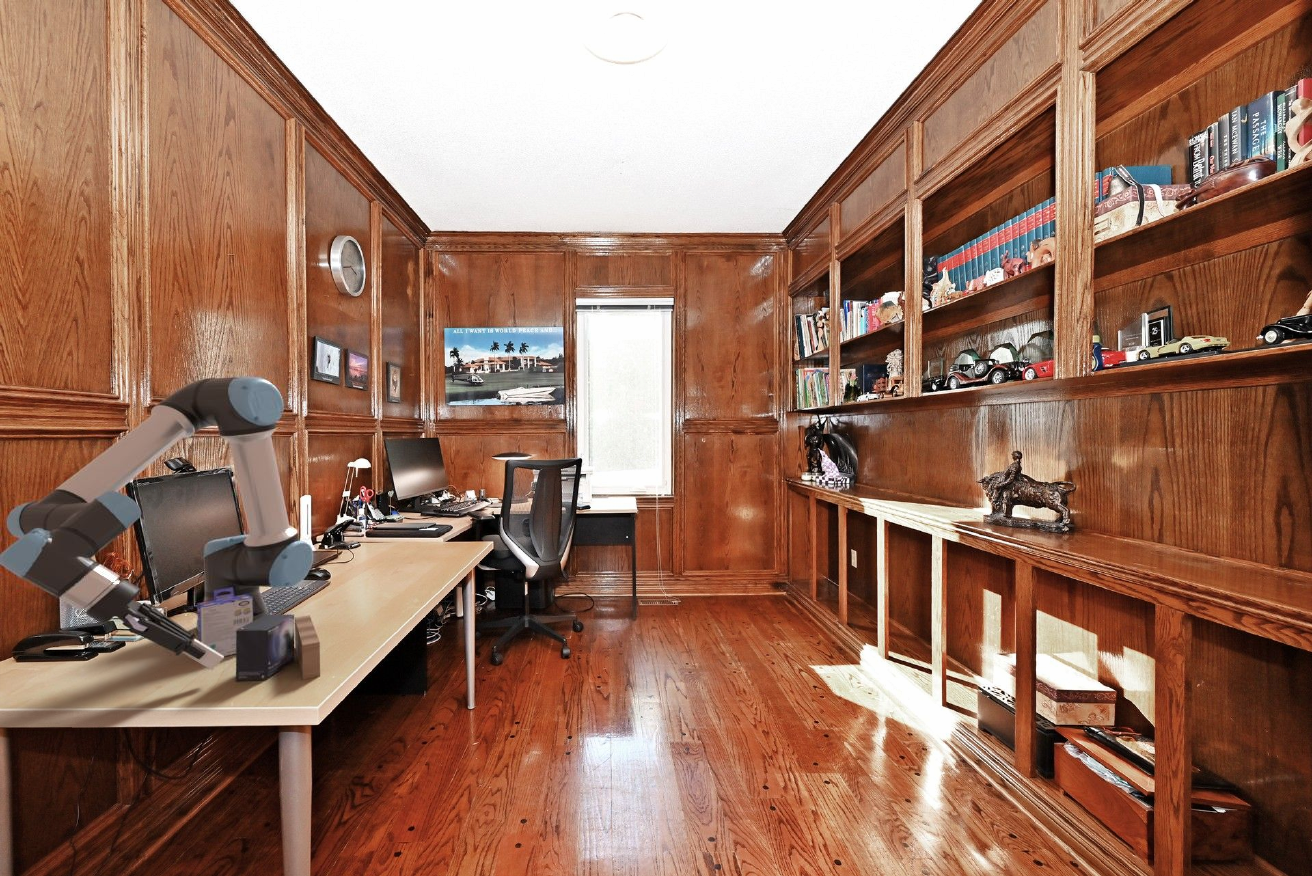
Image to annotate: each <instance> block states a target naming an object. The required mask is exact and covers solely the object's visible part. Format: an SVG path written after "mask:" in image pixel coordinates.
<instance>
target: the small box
mask: <svg viewBox="0 0 1312 876" xmlns="http://www.w3.org/2000/svg"><path fill="white" fill-rule="evenodd" d="M235 655H236V656H235V682H239V681H240V682H242V681H243V682H244V681H266V680H268V679H270V678H272V677H273V676H274V675H275V674H277V673H278V672H280V671H281V670H283V669H284V668H285V667H287V666H288V665H290V664H292V663H293V662H294V661H295V614H294V613H293V614H268V615H265V616H263V617H261V618H259V619H257V620H255V621H253V622H251V623H249V624H247V625H245V626H243V627H241V628H239V629H237V630H236V654H235Z"/></svg>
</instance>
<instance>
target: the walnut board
mask: <svg viewBox="0 0 1312 876" xmlns="http://www.w3.org/2000/svg"><path fill="white" fill-rule="evenodd" d="M320 644H321V642H320V639H319V637H318V634H317V630H316V629H315V626H314V623H313V620H312V617H311V615H303V616H296V617H294V649H295V652H296V657H297V660H298V663H299V668H300V672H301V677H302V680H303V681H304V680H308V678H309V679H314V678H318V677H321V646H320Z"/></svg>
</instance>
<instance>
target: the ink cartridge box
mask: <svg viewBox="0 0 1312 876" xmlns="http://www.w3.org/2000/svg"><path fill="white" fill-rule="evenodd" d="M224 591H228V592H231V593H230V594H227V595H221V596H217V594H218V593H221V592H224ZM196 611H197V612H196V616H197V620H198V631H197V635H198V639H197V640H198V641H200V642H201V643H203V644H205V645H206V646H208V647H210V648H211V649H213V650H215V651H216V652H218V653H220V654H221V655H223V656H224V657H227V656H231V655H232V656H233V655H236V630H237V629H239V628H241V627H243V626H245V625H247V624H249V623H251V622H253V607H252V597H251V596H249V595H248V594H244V595H239V596H235V595H234V591H233V587H231V588H225V589H219V590H214V600H213V601H208V602H204V601H203V602H198V603H196Z"/></svg>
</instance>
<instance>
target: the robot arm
mask: <svg viewBox="0 0 1312 876" xmlns="http://www.w3.org/2000/svg"><path fill="white" fill-rule="evenodd" d="M284 404H285V403H284V399H283V397H282V395H281V393H280V390H279V389H278V388H277V387H276V386H275V385H274V384H273V383H271V382H270V381H269V380H267V379H265V378H263V377H257V376H256V377H255V376H248V375H247V376H246V375H245V376H231V377H218V378H217V377H210V378H209V377H208V378H202V379H199V380H196V381H193V382H190V383H189V384H186V385H184V386H183V387H181V388H180V389H178V390H177V391H174V392H173V393H171V394H170V395H169V396H168V397H166V398H165V399H163V400H162V401H160V402H159V403H158V404H156V405H155V406H153V408H151V411H150V416H149V417H147V418H146V419H145V420H143V422H141V423H139V425H136V427H135V428H133V429H132V430H131V431H129V432H128V433H126V435H124V436H122V438H120V439H119V440H117V441H116V442H115V443H114V444H112V445H111V446H110V447H108V448H107V449H106V450H105V451H103V452H102V453H101V454H99V455H98V456H96V457H95V458H94V459H93V460H92V461H90V462H89V463H88V464H86V465H85V466H84V467H82V468H81V469H80V470H78V471H77V472H76V473H75V474H74V475H71V476H70V477H69V478H68V479H67V480H66V481H64V482H63V483H62V484H60V485H59V486H58V487H56V488H55V489H53V490H52V492H50V493H48V494H47V495H46V496H45V497H43V498H42V499H40V500H37V501H29V502H26V503H22V504H20V505H17V506H16V507H15V508H13V509H12V510H11V511H10V512H9V514H8V515H7V518H6V527H7V531H9V533H10V534H11V535H12V536H13V537H14V538H17V540H16V541H15V542H13V543H12V544H11V545H10V546H8V547H7V548H6V549H5V550H4V551H2V552H1V554H0V565H1V566H2V567H4V568H5V569H6V570H8V571H9V572H11V573H13V574H14V575H16V576H17V577H18V578H19V579H23V580H25V581H26V582H29V583H31V584H32V585H33V586H36V587H38V588H39V589H41V590H43V591H45V592H46V593H49V594H50V595H52V596H54V597H55V598H57V599H59V600H60V601H63V602H62V606H63V607H68V606H71V607H73V608H74V609H76V610H78V611H83V610H84V609H85V610H86V611H85V615H86V616H88V617H90V618H91V619H93V620H95V621H97V622H99V623H100V624H106V623H108V622H109V621H111V620H112V619H113V618H114V617H116V618H118V620H120V621H122V623H121V624H122V625H123V626H124V627H126V628H128V632H130V633H131V634H134V635H137V636H140V637H142V638H144V639H146V640H149V641H150V642H152V643H155V644H156V645H159V646H161V647H163V648H165V649H166V650H169V651H171V652H173V653H175V656H176V657H179V656H180V655H181V654H183V655H185V656H187V657H189V658H190V659H192V660H194V661H195V662H198V663H199V664H201V665H202V666H204V667H206V668H207V669H209V670H211V671H213V670H214V669H215V668H216V666H218V664H220V663H221V662H222V661H223V660H224V659H225V656H223V655H221V654H220V653H218V652H216V651H215V650H213V649H211V648H210V647H208V646H206V645H205V644H203V643H201V642H200V641H198V639H196V637H197V635H198V633H196V632H198V619H197V620H196V632H194V633H192V632H191V631H190V630H187V629H185V628H184V627H183V626H182V625H180V624H178V623H177V622H176V621H174V620H173V619H171V618H170V617H168V615H165V614H164V613H162V612H161V611H160V610H159V609H157V608H156V607H155V606H154V605H153V604H150V603H147V602H143V603H141V602H139V601H137V600H134V599H136V597H137V596H138V595H140V593H141V587H138V586H137V585H135V584H133V583H132V582H130V581H129V580H126V579H121V580H120V575H119V574H117V572H114V571H113V570H111V569H109V568H108V567H106V566H105V565H103V564H101V563H99V562H98V561H96V560H94V558H93V557H95V556H96V555H97V554H98V553H99V552H101V550H103V549H104V548H105V547H107V546H108V545H109V544H110V543H112V542H113V541H115V540H116V538H118V537H119V536H120V535H122V534H123V533H124V532H125V531H128V530H129V528H130V527H131V526H132V525H133V524H134V523H135V522H137V520H139V518H140V517H141V515H142V510H141V508H140V506H139V504H137V502H136V501H135V500H134V499H133V498H131V497H129V496H128V495H127V494H125V493H122V492H119V491H120V490H121V489H123V488H124V487H125V486H126V485H127V484H128V483H130V482H131V481H133V479H134V478H136V477H138V475H140V474H141V473H142V472H143V471H144V470H145V469H147V468H148V467H149V466H150V465H151V464H153V463H154V462H155V461H156V460H158V459H159V458H160V457H161V456H163V455H164V453H166V452H167V451H169V450H170V449H171V448H172V447H173V446H175V444H176V443H178V442H179V441H180V440H181V439H182V438H183V439H188V438H190V437H192V436H194V435H195V434H196V433H197V432H199V431H201V430H202V429H205V428H209V427H214V426H217V430H218V435H219V437H220V438H222V439H224V440H225V441H227V442H228V443H229V448H230V453H231V457H232V461H233V462H232V463H233V465H234V470H235V474H236V475H235V476H236V479H237V484H238V488H239V493H240V497H241V501H242V505H243V510H244V514H245V515H244V516H245V520H246V524H247V528H248V534H241V535H236V536H229V537H224V538H223V537H222V538H219V539H218V538H217V539H213V540H211V541H210V540H209V541H208V542H207V543H205V545H204V548H203V549H204V550H203V556H202V560H203V579H204V581H203V585H204V601H203V602H208V601H213V600H214V590H219V589H225V588H231V587H233V591H234V595H235V596H239V595H244V594H248V595H249V596H251V597H252V607H253V621H255V620H257V619H259V618H261V617H263V616H265V615H269V610H268V607H267V605H266V603H265V600H264V599H263V596H262V594H261V589H260V588H261V587H263V588H265V587H268V588H275V589H280V588H291V587H294V586H296V585H298V584H299V583H301V582H302V581H303V580H304V579H305V578H306V577H307V575H308V574H309V572H310V570H311V569H312V566H313V563H314V550H313V548H312V546H311V544H308V543H307V542H306V541H303V540H300V536H299V533H298V529H297V528H295V527H293V526H292V525H290V522H289V517H288V513H287V507H286V502H285V497H284V494H283V493H284V492H283V487H282V483H281V479H280V473H279V469H278V468H279V467H278V463H277V459H276V453H275V449H274V445H273V439H272V435H273V434H274V433H275V431H276V430H277V424H276V423H277V422H278V421H279V420H280V419H281V417H282V416H283V415H282V413H283V412H284V408H285V405H284ZM230 593H231V592H228V591H224V592H221V593H218V594H217V596H221V595H227V594H230Z"/></svg>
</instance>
